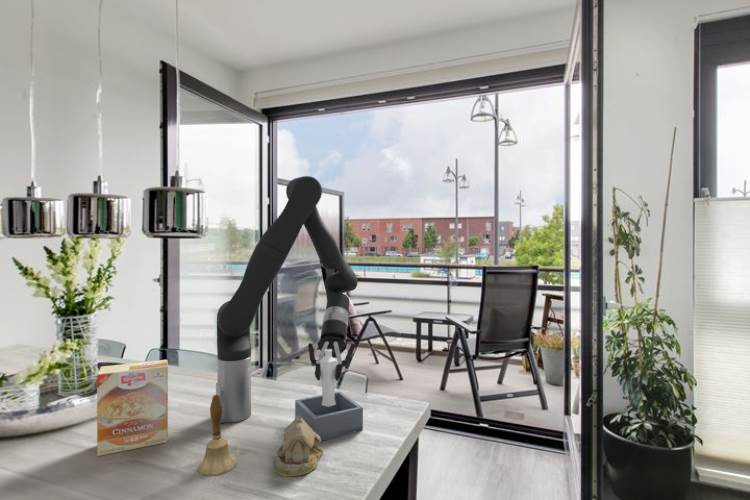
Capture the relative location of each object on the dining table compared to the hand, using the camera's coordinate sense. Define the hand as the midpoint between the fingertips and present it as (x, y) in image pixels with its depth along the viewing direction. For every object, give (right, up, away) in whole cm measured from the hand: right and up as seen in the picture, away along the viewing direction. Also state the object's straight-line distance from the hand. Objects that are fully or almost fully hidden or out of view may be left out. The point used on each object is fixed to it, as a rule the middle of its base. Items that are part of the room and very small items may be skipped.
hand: (327, 378), depth 111 cm
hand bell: (-23, -14, -18) cm, 33 cm away
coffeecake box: (-47, -14, -9) cm, 50 cm away
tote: (0, -13, +2) cm, 14 cm away
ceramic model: (-5, -14, -16) cm, 22 cm away
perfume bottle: (0, -8, +2) cm, 8 cm away
